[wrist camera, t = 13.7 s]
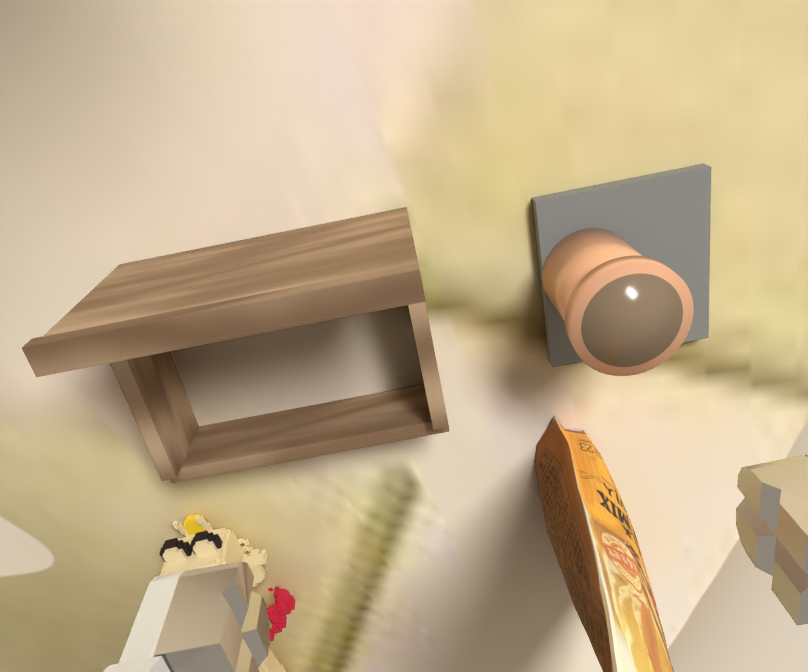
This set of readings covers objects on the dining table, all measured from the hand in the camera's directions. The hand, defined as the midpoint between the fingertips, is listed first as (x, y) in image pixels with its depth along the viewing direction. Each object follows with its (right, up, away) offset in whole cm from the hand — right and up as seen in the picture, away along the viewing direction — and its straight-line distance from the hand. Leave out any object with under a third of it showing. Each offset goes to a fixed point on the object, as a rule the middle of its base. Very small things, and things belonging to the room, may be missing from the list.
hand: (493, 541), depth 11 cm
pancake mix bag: (+12, -10, +42) cm, 44 cm away
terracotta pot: (+11, +8, +32) cm, 35 cm away
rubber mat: (+13, +8, +33) cm, 37 cm away
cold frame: (-9, +4, +34) cm, 36 cm away
